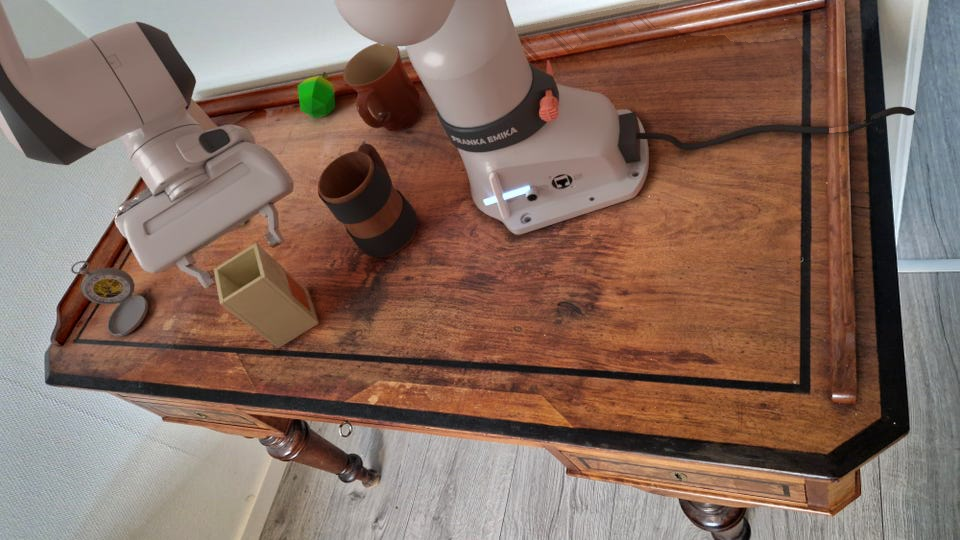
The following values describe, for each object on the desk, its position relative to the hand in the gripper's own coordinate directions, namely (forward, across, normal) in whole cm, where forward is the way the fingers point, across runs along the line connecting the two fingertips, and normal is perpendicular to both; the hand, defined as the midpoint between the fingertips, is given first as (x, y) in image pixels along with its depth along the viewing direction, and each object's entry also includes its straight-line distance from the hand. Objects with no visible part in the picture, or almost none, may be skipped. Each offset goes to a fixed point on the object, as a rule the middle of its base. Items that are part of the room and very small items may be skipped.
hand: (245, 265), depth 78 cm
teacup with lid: (-26, -9, +39) cm, 48 cm away
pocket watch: (-5, -24, +18) cm, 30 cm away
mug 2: (+5, +17, +8) cm, 19 cm away
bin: (+8, 0, +4) cm, 9 cm away
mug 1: (-8, +24, +20) cm, 33 cm away
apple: (-18, +16, +31) cm, 39 cm away
